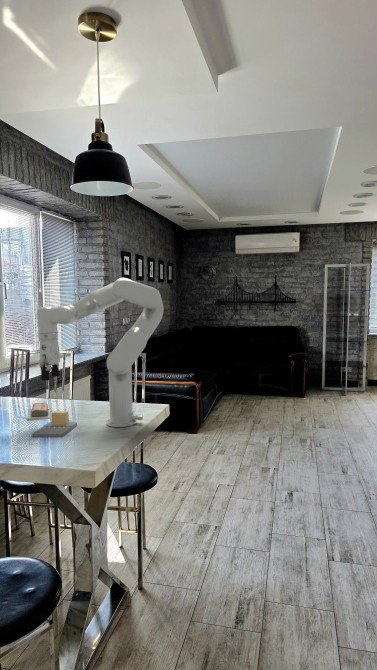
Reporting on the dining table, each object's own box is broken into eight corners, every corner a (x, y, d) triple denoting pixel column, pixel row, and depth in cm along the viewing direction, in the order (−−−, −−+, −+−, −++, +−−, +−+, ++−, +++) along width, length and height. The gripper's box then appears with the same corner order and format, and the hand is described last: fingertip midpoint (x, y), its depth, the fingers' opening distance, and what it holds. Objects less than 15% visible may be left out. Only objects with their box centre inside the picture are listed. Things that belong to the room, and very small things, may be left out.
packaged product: (28, 402, 210) (50, 401, 213) (29, 412, 210) (51, 410, 213) (26, 411, 193) (50, 409, 196) (27, 421, 193) (50, 419, 196)
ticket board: (71, 429, 177) (71, 426, 177) (62, 437, 167) (62, 433, 167) (42, 429, 178) (42, 426, 178) (32, 437, 168) (32, 433, 168)
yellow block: (77, 425, 184) (76, 410, 183) (72, 429, 178) (71, 414, 177) (49, 424, 185) (48, 410, 184) (43, 428, 179) (42, 413, 178)
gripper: (48, 338, 172) (50, 381, 173) (65, 335, 189) (67, 374, 190) (29, 338, 172) (32, 382, 173) (48, 335, 189) (50, 375, 191)
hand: (50, 378), depth 182 cm, fingers open, 9 cm apart
